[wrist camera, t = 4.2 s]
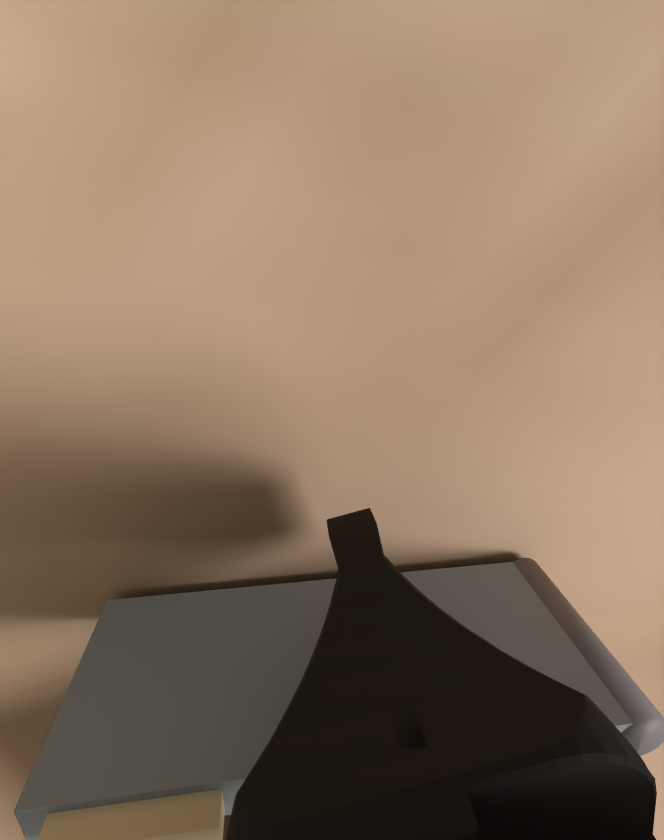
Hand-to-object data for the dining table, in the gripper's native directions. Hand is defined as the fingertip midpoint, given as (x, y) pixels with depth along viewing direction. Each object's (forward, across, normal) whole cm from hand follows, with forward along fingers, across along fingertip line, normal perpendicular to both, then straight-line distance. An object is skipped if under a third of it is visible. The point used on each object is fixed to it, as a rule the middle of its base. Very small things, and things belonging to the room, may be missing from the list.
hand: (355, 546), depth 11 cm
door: (+1, +1, +2) cm, 3 cm away
